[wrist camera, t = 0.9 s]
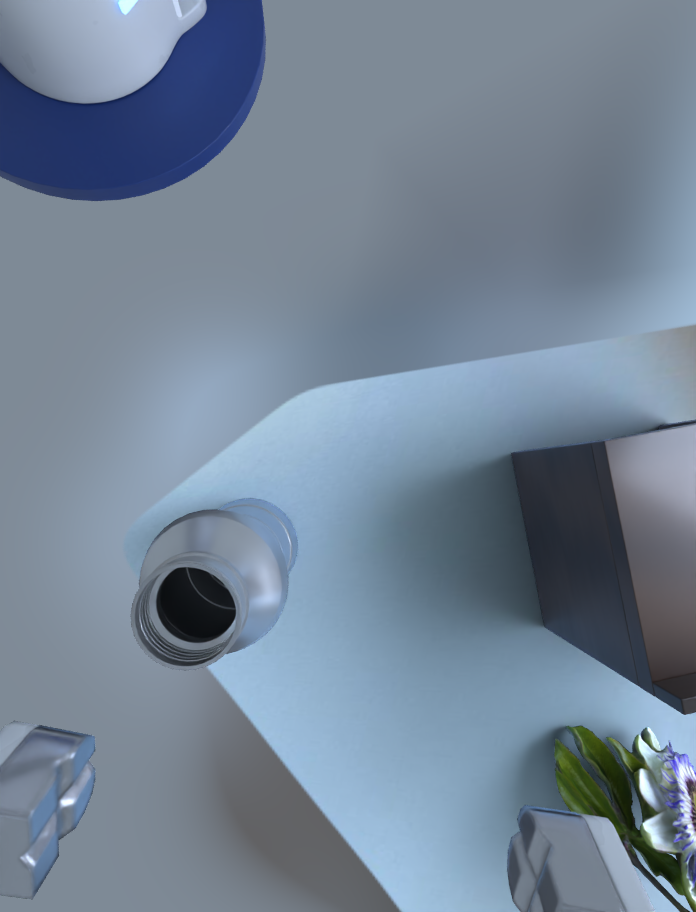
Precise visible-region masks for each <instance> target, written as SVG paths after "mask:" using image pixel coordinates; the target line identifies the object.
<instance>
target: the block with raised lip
mask: <svg viewBox="0 0 696 912" xmlns="http://www.w3.org/2000/svg"><path fill="white" fill-rule="evenodd" d="M659 429H660V430H656V431H650V432H645V433H640V434H634V435H629V436H623V437H618V438H612V439H606V440H598V441H591V442H583V443H576V444H568V445H561V446H553V447H546V448H538V449H531V450H524V451H518V452H513V453H511V456H512V461H513V466H514V471H515V476H516V482H517V487H518V492H519V497H520V502H521V508H522V513H523V518H524V523H525V528H526V534H527V539H528V544H529V549H530V554H531V560H532V565H533V570H534V575H535V580H536V585H537V591H538V596H539V601H540V606H541V611H542V617H543V622H544V627H545V628H547V629H548V630H550V631H552V632H553V633H555V634H556V635H558V636H559V637H561V638H563V639H564V640H566V641H567V642H569V643H571V644H572V645H574V646H575V647H577V648H579V649H580V650H582V651H583V652H585V653H587V654H588V655H590V656H591V657H593V658H595V659H596V660H598V661H599V662H601V663H602V664H604V665H606V666H607V667H609V668H610V669H612V670H614V671H615V672H617V673H618V674H620V675H622V676H623V677H625V678H626V679H628V680H630V681H631V682H633V683H634V684H636V685H638V686H640V688H642V689H644V690H645V691H647V692H648V693H650V694H652V695H653V696H656V697H657V698H658V699H660V700H661V701H663V702H665V703H666V704H668V705H669V706H671V707H673V708H674V709H676V710H677V711H679V712H681V713H682V714H684V715H686V714H691V713H695V712H696V420H691V421H684V422H678V423H671V424H666V425H660V426H659Z"/></svg>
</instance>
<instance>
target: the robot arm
mask: <svg viewBox="0 0 696 912" xmlns="http://www.w3.org/2000/svg"><path fill="white" fill-rule="evenodd" d="M206 10H207V4H206V0H0V63H1V64H2V65H3V66H4V67H5V68H6V69H7V70H8V71H9V72H10V73H11V74H12V75H13V76H14V77H15V78H16V79H18V80H19V81H20V82H21V83H23V84H24V85H26V86H27V87H29V88H31V89H32V90H34V91H36V92H38V93H40V94H42V95H45V96H47V97H50V98H53V99H56V100H60V101H65V102H71V103H82V104H90V103H101V102H107V101H111V100H115V99H118V98H121V97H124V96H126V95H128V94H131V93H132V92H134V91H136V90H138V89H139V88H141V87H143V86H144V85H145V84H147V83H148V82H149V81H150V80H151V79H153V78H154V77H155V76H156V75H157V74H158V72H159V71H160V70H161V69H162V68H163V66H164V65H165V63H166V62H167V60H168V59H169V57H170V55H171V53H172V51H173V49H174V47H175V45H176V43H177V41H178V40H179V38H180V37H181V35H182V34H184V33H185V32H186V31H188V30H189V29H190V28H191V27H193V26H194V25H195V24H196V23H197V22H199V21H200V20H201V19H202V17H203V16H204V15H205V13H206ZM94 751H95V737H94V736H92V735H88V734H83V733H77V732H72V731H67V730H62V729H57V728H52V727H47V726H42V725H35V724H29V723H24V722H18V721H13V722H11V723H10V724H8V725H6V726H5V727H3V728H2V729H1V731H0V895H1V896H9V897H16V898H24V899H31V900H32V899H33V897H34V896H35V894H36V893H37V891H38V889H39V888H40V886H41V884H42V883H43V881H44V879H45V878H46V876H47V875H48V873H49V871H50V870H51V868H52V866H53V865H54V863H55V861H56V860H57V858H58V856H59V840H60V839H61V838H63V837H64V836H66V835H67V834H68V833H70V832H71V831H73V830H74V829H75V828H76V826H77V825H78V823H79V821H80V819H81V818H82V816H83V814H84V812H85V810H86V808H87V805H88V803H89V800H90V798H91V795H92V792H93V788H94V782H95V768H94V767H93V765H92V764H91V763H90V761H89V759H90V758H91V756H92V755H93V753H94ZM517 821H518V824H519V828H520V832H518V833H517V834H516V835H514V836H513V837H511V841H510V845H509V849H508V860H507V871H508V879H509V886H510V890H511V895H512V899H513V902H514V904H515V905H516V906H517V908H518V909H519V910H520V912H656V911H655V909H654V907H653V905H652V903H651V901H650V899H649V897H648V895H647V893H646V891H645V889H644V887H643V885H642V883H641V881H640V879H639V877H638V875H637V872H636V870H635V868H634V866H633V864H632V862H631V860H630V858H629V856H628V854H627V852H626V850H625V848H624V846H623V844H622V842H621V840H620V838H619V836H618V834H617V832H616V830H615V827H614V825H613V824H612V823H611V822H610V821H609V819H608V818H604V817H598V816H592V815H586V814H577V813H576V812H570V811H563V810H556V809H550V808H543V807H536V806H529V805H524V806H523V807H522V808H521V809H520V812H519V815H518V818H517Z"/></svg>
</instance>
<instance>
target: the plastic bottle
mask: <svg viewBox="0 0 696 912" xmlns="http://www.w3.org/2000/svg"><path fill="white" fill-rule="evenodd" d="M297 552H298V540H297V535H296V531H295V528H294V526H293V524H292V523H291V521H290V519H289V518H288V517H287V516H286V514H285V513H284V512H283V511H281V510H280V509H279V508H278V507H276V506H275V505H273V504H271V503H269V502H266V501H263V500H260V499H253V498H248V499H239V500H235V501H232V502H230V503H228V504H226V505H224V506H223V507H221V508H220V509H219V510H218V509H216V510H202V511H198V512H193V513H189V514H187V515H185V516H183V517H181V518H178V519H176V520H175V521H173V522H172V523H171V524H169V525H168V526H166V527H165V528H164V529H163V530H162V531H161V532H160V533H159V534H158V536H157V537H156V538H155V539H154V541H153V542H152V544H151V546H150V547H149V549H148V551H147V553H146V556H145V559H144V562H143V564H142V568H141V573H140V580H139V590H138V592H137V593H136V595H135V598H134V601H133V603H132V610H131V625H132V629H133V633H134V636H135V638H136V640H137V642H138V644H139V646H140V647H141V648H142V650H143V651H144V652H145V653H146V654H147V655H148V656H149V657H150V658H151V659H153V660H154V661H155V662H157V663H159V664H161V665H163V666H165V667H168V668H171V669H176V670H196V669H199V668H203V667H206V666H208V665H210V664H212V663H214V662H216V661H217V660H219V659H220V658H221V657H222V656H224V655H225V654H228V653H232V652H235V651H239V650H241V649H244V648H246V647H248V646H250V645H252V644H254V643H255V642H257V641H258V640H259V639H261V638H262V637H263V636H264V635H266V634H267V633H268V631H269V630H270V629H271V628H272V627H273V626H274V625H275V623H276V622H277V620H278V618H279V616H280V615H281V613H282V611H283V608H284V605H285V602H286V599H287V592H288V574H289V573H290V571H291V569H292V568H293V566H294V564H295V561H296V557H297Z"/></svg>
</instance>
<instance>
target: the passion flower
mask: <svg viewBox="0 0 696 912" xmlns="http://www.w3.org/2000/svg"><path fill="white" fill-rule="evenodd" d="M566 729H567V730H568V731H569V732H570V733H571V734H572V736H573V738H574V741H575V744H576V746H577V748H578V750H579V752H580V753H581V755H582V757H583V758H584V759H585V760H586V761H587V762H588V763H589V764H590V766H591V767H592V769H593V770H594V771H595V773H596V774H597V776H598V777H599V778H600V779H601V780H602V781H603V782H604V783H605V785H606V787H607V789H608V792H609V794H610V797H611V801H610V799H609V798H608V797H607V796H606V794H605V793H604V791H603V790H602V789H601V788H600V786H599V785H598V784H597V783H596V782H595V781H594V779H593V778H592V777H591V776H590V775H589V773H588V772H587V771H586V770H585V769H584V768H583V767H582V766H581V764H580V760H579V759H578V758H577V757H576V756H575V755H574V754H573V753H572V752H571V751H570V750H569V749H568V748H567V747H566V746H565V745H564V744H562V742H561V741H559V740H558V739H555V752H554V758H555V761H556V763H555V766H556V767H555V772H556V773H555V775H556V780H557V786H558V790H559V793H560V794H561V796H562V798H563V800H564V802H565V804H566V805H567V807H568V809H569V810H570V812H576V813H577V814H586V815H592V816H598V817H604V818H608V819H609V821H610V822H611V823H612V824H613V825H614V827H615V830H616V832H617V834H618V836H619V838H620V840H621V842H622V844H623V846H624V848H625V850H626V852H627V854H628V856H629V858H630V860H631V862H632V864H633V865H634V866H635V867H637V868H638V869H639V870H640V871H641V872H642V873H643V875H644V876H645V877H646V878H647V879H648V880H649V881H650V882H651V883H652V884H653V885H654V886H655V887H656V888H657V889H658V890H659V891H660V892H661V893H662V894H663V895H664V896H665V897H666V898H667V899H668V900H669V901H670V902H671V903H672V904H673V905H674V906H675V907H676V908H677V909H678V910H679V911H680V912H690V911H688V910H687V909H685V908H684V907H683V906H682V905H681V904H680V903H679V902H678V901H676V900H675V899H674V898H673V896H672V895H671V894H669V892H668V891H667V890H666V889H665V888H664V887H663V886H662V885H661V884H660V883H659V882H658V881H657V880H656V879H655V878H654V877H653V876H652V875H651V874H650V872H648V871H647V870H646V869H645V868H644V867H643V865H642V864H641V863H640V861H639V859H638V857H637V855H636V853H635V851H634V849H633V847H634V848H636V849H637V850H638V851H639V853H640V854H641V855H642V857H643V859H644V860H645V862H646V864H647V865H648V867H649V868H650V870H651V871H652V872H653V874H654V875H655V876H656V877H657V876H659V875H661V876H663V877H664V878H665V879H666V880H667V881H668V882H669V883H670V884H671V885H672V887H673V888H674V889H675V891H676V892H677V893H678V894H680V895H684V896H685V897H686V899H687V901H688V903H689V905H690V907H691V909H692V911H693V912H696V772H695V771H694V770H693V766H692V765H691V764H690V762H689V757H688V755H687V754H682V755H679V754H678V753H677V752H675V753H674V752H673V749H672V746H671V743H670V741H669V747H668V746H666V747H665V749H663V750H661V748H660V744H659V742H658V740H657V738H656V737H655V735H654V734H653V732H652V731H651V729H650V728H649V727H647V728H645V729H643V731H642V732H641V736H640V735H639V734H638V735H637V736H636V737H635V740H634V742H633V746H632V749H633V752H632V753H630V752H629V751H628V750H627V749H625V748H624V747H623V746H622V745H621V744H620V743H619V742H618V741H616V740H614V739H612V738H611V737H606V740H607V741H608V742H609V743H610V745H611V747H612V748H613V749H614V750H615V752H616V754H617V756H618V759H619V761H620V762H621V763H622V764H620V763H618V762H617V760H616V759H615V757H614V755H613V754H612V752H611V751H610V750H609V748H608V747H607V746H606V745H605V744H604V743H603V742H602V741H601V740H600V739H599V738H597V737H596V736H595V735H594V733H593V732H592V731H590V730H588V729H587V728H585V727H583V726H576V727H570V726H566ZM622 765H623V766H622ZM624 768H625V770H626V772H625V770H624ZM627 775H628V776H629V778H630V779H631V780H632V783H633V786H634V788H635V791H636V793H637V796H638V799H639V802H640V806H641V811H642V822H643V823H642V824H641V826H640V830H638V829H637V828H636V827H635V818H634V816H633V813H632V808H631V805H632V802H633V801H632V793H631V786H630V781H629V780H628V777H627ZM632 845H633V847H632ZM667 853H669V854H673V855H675V856H676V859H677V860H676V859H675V858H674V857H673V856H672V855H669V854H667Z"/></svg>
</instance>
